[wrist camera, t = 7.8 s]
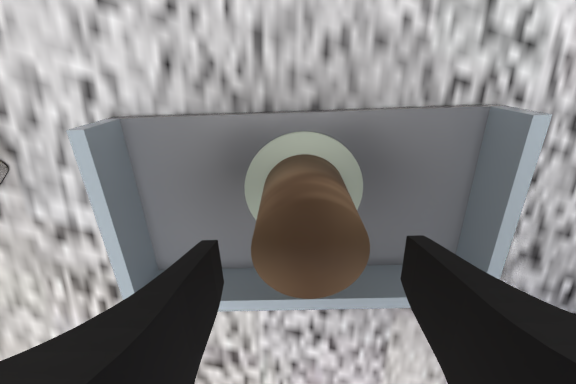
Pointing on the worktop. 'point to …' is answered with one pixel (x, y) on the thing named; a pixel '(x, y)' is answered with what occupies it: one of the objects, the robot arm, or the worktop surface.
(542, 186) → the worktop surface
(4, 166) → the coffee box
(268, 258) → the brown cylinder
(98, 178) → the grey tray
